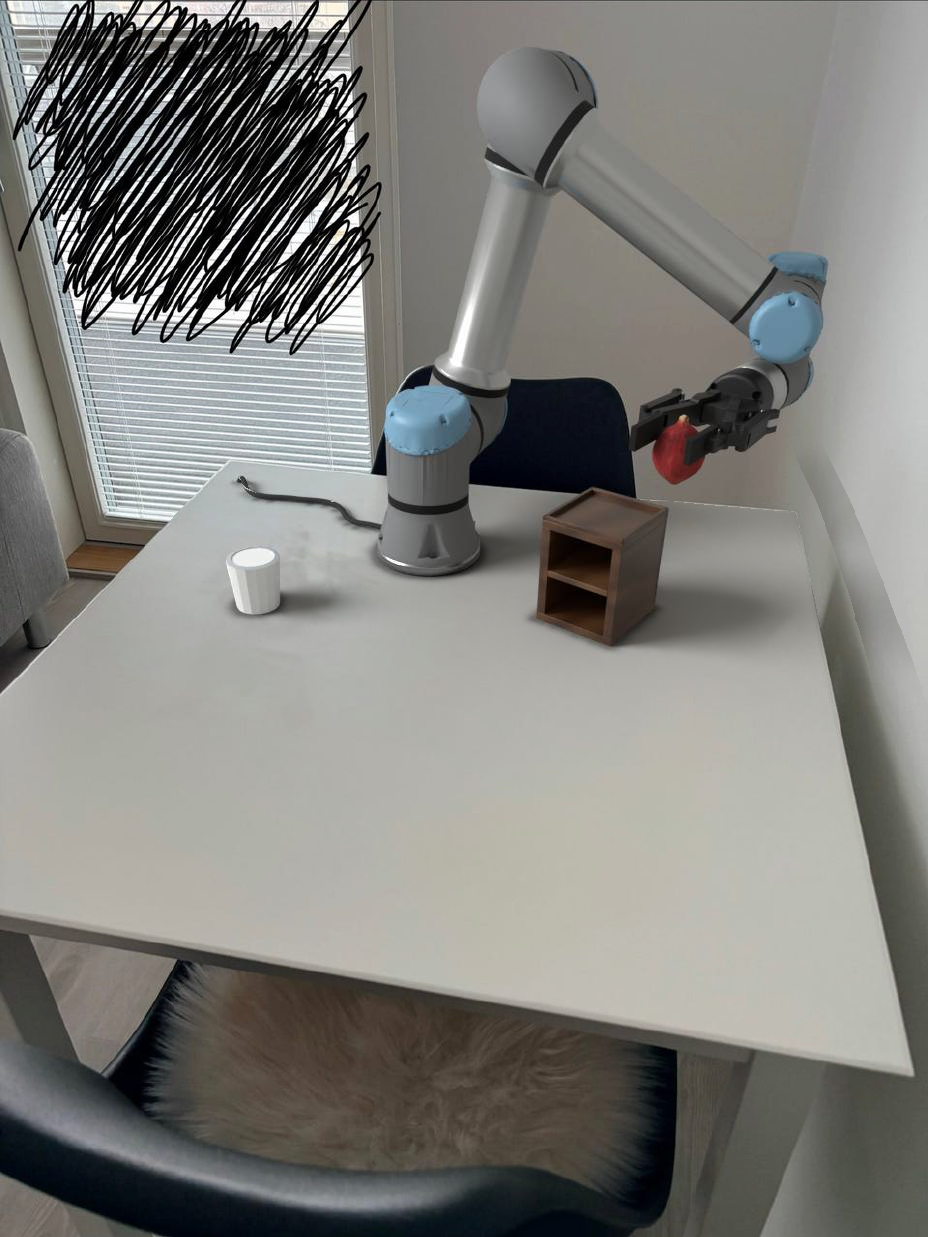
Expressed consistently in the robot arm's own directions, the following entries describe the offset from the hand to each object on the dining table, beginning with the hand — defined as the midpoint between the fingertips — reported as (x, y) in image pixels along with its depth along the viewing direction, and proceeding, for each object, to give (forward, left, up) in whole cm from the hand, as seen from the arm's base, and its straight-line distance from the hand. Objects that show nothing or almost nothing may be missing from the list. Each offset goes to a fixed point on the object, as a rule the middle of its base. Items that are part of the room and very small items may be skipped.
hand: (660, 445), depth 93 cm
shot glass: (-45, -20, -27) cm, 56 cm away
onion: (0, +5, -6) cm, 8 cm away
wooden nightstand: (-9, +6, -27) cm, 29 cm away
